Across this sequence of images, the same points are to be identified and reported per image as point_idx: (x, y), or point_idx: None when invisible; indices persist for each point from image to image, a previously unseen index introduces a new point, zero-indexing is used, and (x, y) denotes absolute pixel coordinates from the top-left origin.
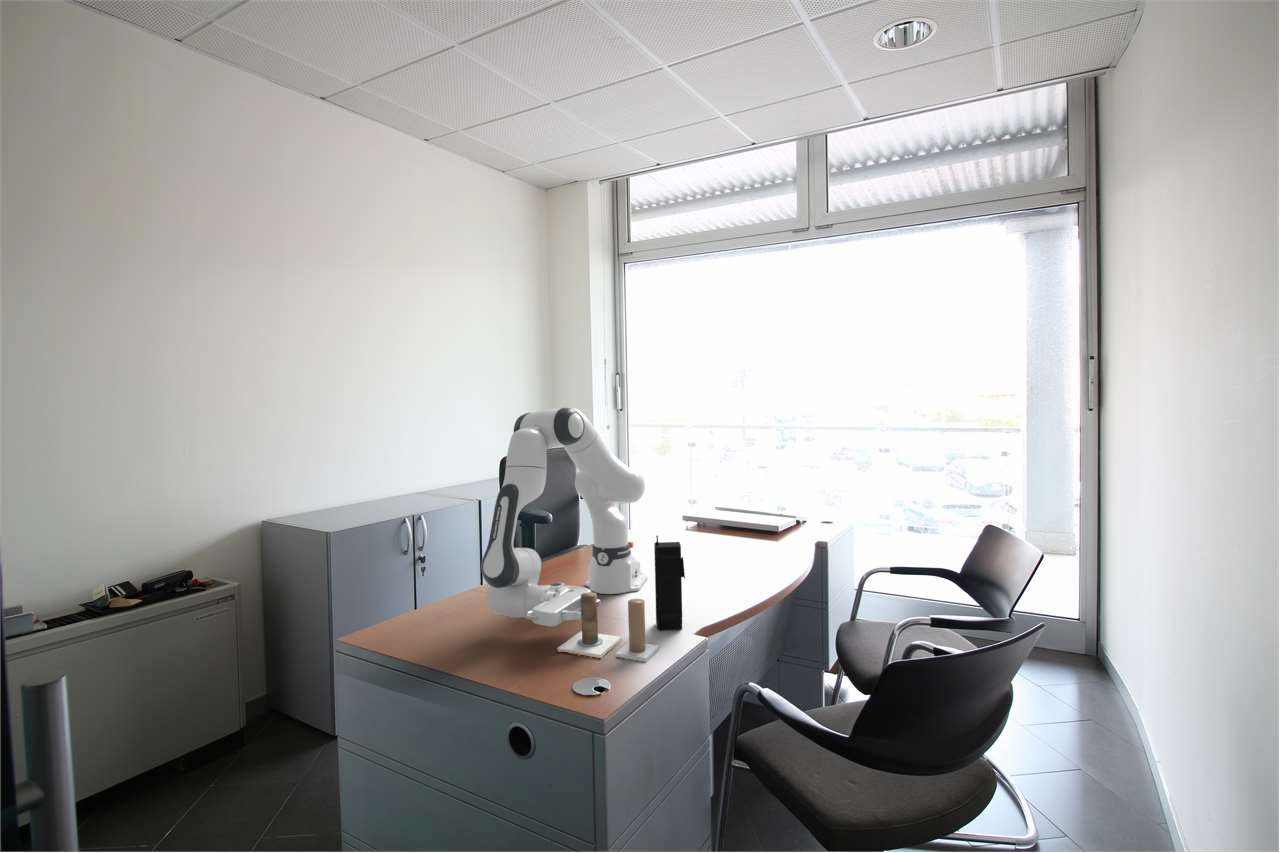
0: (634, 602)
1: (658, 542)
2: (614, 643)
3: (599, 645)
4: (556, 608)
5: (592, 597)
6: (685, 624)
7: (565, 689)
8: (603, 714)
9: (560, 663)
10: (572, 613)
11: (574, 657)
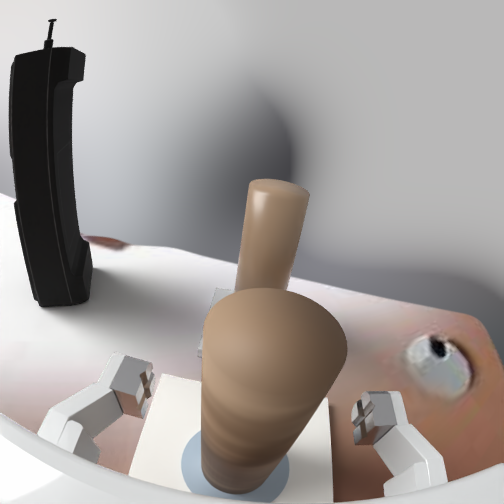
0: (293, 191)
1: (52, 40)
2: None
3: None
4: (475, 500)
5: (313, 304)
6: None
7: (477, 396)
8: (474, 318)
9: None
10: (412, 431)
11: (346, 480)
